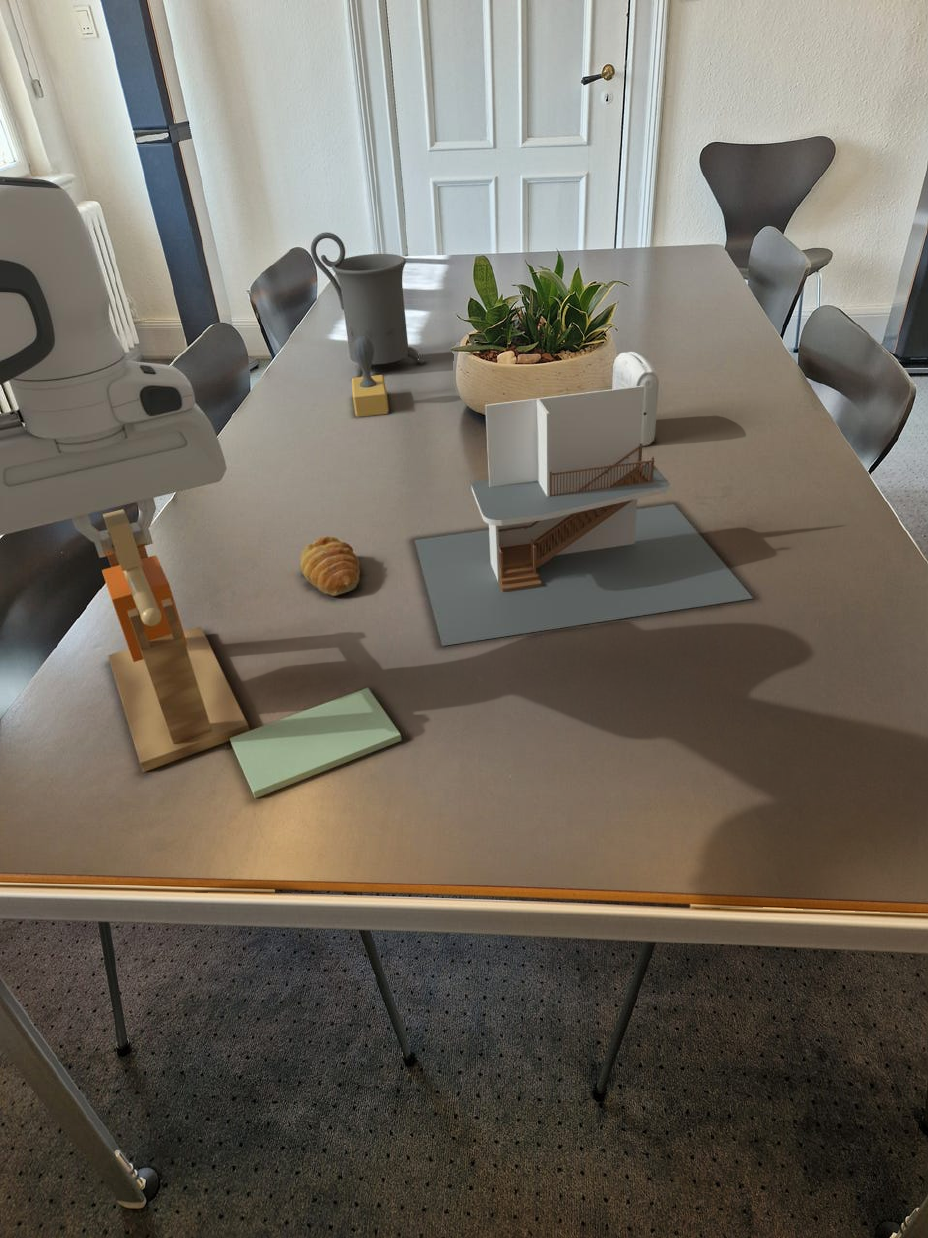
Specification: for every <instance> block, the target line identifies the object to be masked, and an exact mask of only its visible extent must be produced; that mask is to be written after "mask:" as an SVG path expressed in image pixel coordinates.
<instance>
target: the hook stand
mask: <svg viewBox="0 0 928 1238" xmlns="http://www.w3.org/2000/svg"><path fill="white" fill-rule="evenodd" d="M138 552H139V555H140V558H141V559H144V558H147V557H149V556H148V552H147V549H146V546H142V547H138ZM107 559H108V563H109V565H110V568H111V567H115V566H118V565H120V564H119V561H118V559H117V556H116V553H115V554H112V555H108V556H107ZM161 603H162V606H163V609H164V612H165V615H166V618H167V622H168V625H169V628H170V631H171V634H170V635H167V636H164V637H160V638H157V639H154V640H151V641H148V639H147V636H146V633H145V630H144V627H143V624H142V621H141V618H140V615H139V612H138V610H137V608H135V609H132V610H128V611H127V612H128V615H129V618H130V621H131V623H132V626H133V629H134V632H135V635H136V638H137V641H138V644H139V646H140V649H141V652H142V655H143V658H144V659H143V660H140V661H136V662H133V659H132V657H131V654H130V651H129V648H126V649H123V650H120V651H117V652H114V653H111V654H108V655H107V656H108V660H109V663H110V667H111V670H112V674H113V676H114V680H115V683H116V686H117V691H118V693H119V697H120V701H121V703H122V707H123V711H124V714H125V717H126V720H127V723H128V727H129V731H130V734H131V737H132V738H131V739H132V741H133V744H134V748H135V751H136V755H137V757H138V761H139V764H140V767H141V769H142V772H143V773H146V772H148V771H152V770H154V769H156V768H159V767H162V766H164V765H167V764H170V763H173V762H175V761H178V760H182V759H184V758H187V757H190V756H192V755H194V754H197V753H201V752H203V751H205V750H208V749H211V748H213V747H216V746H219V745H222V744H224V743H227V742H228V743H229V742H231V741H230V738H231V737H234V736H237V735H240V734H242V733H245V732H248V731H251V730H250V727H249V724H248V721H247V719H246V718H245V715H244V713H243V711H242V709H241V707H240V704H239V702H238V701H237V699H236V696H235V695H234V692H233V690H232V688H231V686H230V683H229V682H228V680H227V678H226V675H225V673H224V671H223V669H222V667H221V665H220V663H219V660H218V658H217V656H216V655H215V652H214V649H212V647H211V644H210V642H209V640H208V638H207V636H206V633H205V632H204V630H203V627H202V626H201V625H200V626H196V627H193V628H190V629H187V630H183V632H184V635H185V639H186V642H187V646H186V644H185V641H184V638H183V635H182V631H181V628H180V625H179V622H178V618H177V615H176V612H175V609H174V605H173V603H172V601H171V599H170V598H169V599H165V600H162V601H161Z"/></svg>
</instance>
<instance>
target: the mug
mask: <svg viewBox="0 0 928 1238" xmlns="http://www.w3.org/2000/svg"><path fill="white" fill-rule="evenodd" d="M325 239H330V240H333V242H335V243H336V244H337V246H338V248H339V256H338V258H337V260H334V261H331V260H329V259H328V258H327V255H325V254H321V255H320V258H319V256H318V254H317V247H318V244H319V243H320V242H321V241H322V240H325ZM310 254H311V257H312V260H313V261H314V263H315V265H316V266H317V267H318V268H319V269H320V270H321V271H322V272H323V274H324V275H325V276H326V277H327V278H328V279H329V281H330V283H331V284H332V285H333V287H334V289H335V292H336V294H337V296H338V300H339V304H340V308H341V310H342V311H343V312H344V313H343V314H344V321H345V328H346V336H347V343H348V351H349V357H350V358H349V359H350V360H351V361H352V362H353V363H356V368H355V369H356V375H355V377H354V378H356V377H363V372H362V369H361V367H360V365H359V363H358V361H357V359H356V357H355V355H354V350H353V346H354V343H355V341H356V340H357V338H359V337H362V336H364V337H367V338H368V339H370V341H371V342H372V344H373V346H374V356H373V360H372V364H371V366H372V365H373V366H374V365H375V366H377V365H385V364H386V365H387V364H391V363H392V364H393V363H395V362H398V361H401V360H403V359H405V358H406V357H407V358H411V359H412V360H414V362H416V363H417V364H420V365H421V364H424V360H423V359H422V358H420V355H419V353H418V351H417V350H416V349H415V348H413V347H411V346H409V342H408V340H409V339H408V330H407V320H406V310H405V308H406V307H405V299H404V289H403V288H404V287H403V275H404V268H405V266H406V263H407V259H406V258H405V257H404V256H401V255H398V254H393V253H392V254H391V253H369V254H359V255H354V256H350V257H346V248H345V244H344V242H343V241H342V239H341V238H340V237H339V236H338V235H336V234H335V233H332V232H329V231H328V232H321V233H319V234H317V235H316V236H315V237H314V238H313V240H312V241H311V244H310ZM325 265H326V266H325ZM327 267H329V268H331V270H332V271H333V272H334V274H335V275H336V277H337V278H335V276H334V275H333V273H332V272H331V271H330V270H329V269H328V268H327ZM336 279H337V280H338V281H337V280H336ZM418 359H419V360H418Z"/></svg>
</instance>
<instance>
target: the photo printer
mask: <svg viewBox="0 0 928 1238" xmlns="http://www.w3.org/2000/svg"><path fill="white" fill-rule="evenodd" d="M650 362H651V361H649V360H648V359H647V358H646V357H644V356H643V355H642V354H640V353H637V352H635V351H627V352H621V353H619V354H618V355H617V356H616V357H615V358H614V361H613V365H612V384H611V389H618V388H627V387H635V386H644V399H643V415H642V431H641V443H642V444H643V445H642V447H644V446H645V447H646V446H649V445H651V444H652V442H654V441H655V435H656V425H657V415H658V413H657V412H658V402H659V388H660V379H659V375H658V373H657V370H656V369H655V368H654V366H653V365H652V363H650Z"/></svg>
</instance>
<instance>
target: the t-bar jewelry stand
mask: <svg viewBox="0 0 928 1238" xmlns="http://www.w3.org/2000/svg"><path fill="white" fill-rule="evenodd" d="M102 516H103V519H104V523H105V526H106V528H107V529H106V530H108V531H109V534H110V537H111V539H112V542H113V546H114V548H115V551H116V556H117V559H118V561H119V564H120V565H118V566H115V567H111V566H110V567H107V568H104V569H102V570H101V572H102V576H103V578H104V581H105V585H106V587H107V590H108V593H109V596H110V599H111V602H112V604H113V607H114V610H115V613H116V616H117V619H118V622H119V624H120V627H121V630H122V634H123V637H124V640H125V642H126V645H127V647H128V648H127V649H129V651H130V654H131V657H132V659H133V662H136V661H140V660H143V659H144V658H143V655H142V652H141V649H140V646H139V644H138V641H137V638H136V635H135V632H134V629H133V626H132V623H131V621H130V618H129V615H128V612H127V611H128V610H132V609H135V608H137V610H138V612H139V615H140V618H141V621H142V624H143V627H144V630H145V633H146V636H147V639H148V641H151V640H154V639H157V638H160V637H164V636H167V635H170V634H171V631H170V628H169V625H168V622H167V618H166V615H165V612H164V609H163V606H162V603H161V601H162V600H165V599H169V598H170V599H171V601H172V603H173V605H174V609H175V612H176V615H177V618H178V622H179V625H180V628H181V631H182V635H183V638H184V641H185V644H186V646H187V642H186V639H185V635H184V632H183V631H184V629H183V625H182V623H181V622H182V621H181V619H180V616H179V612H178V608H177V605H176V602H175V600H174V595H173V592H172V589H171V585H170V582H169V581H168V578H167V576H166V574H165V572H164V569H163V567H162V565H161V563H160V561H159V558H158V556H157V555H156V554H155V555H151V556H148V557H147V558H144V559H141V558H140V555H139V552H138V548H137V545H136V542H135V539H134V536H133V533H132V529H131V526H130V524H131V523H130V521H129V518H128V516H127V514H126V512H125V509H123V508H122V509H118V510H115V511H114V510H113V511H110V512H105V513H103V514H102Z"/></svg>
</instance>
